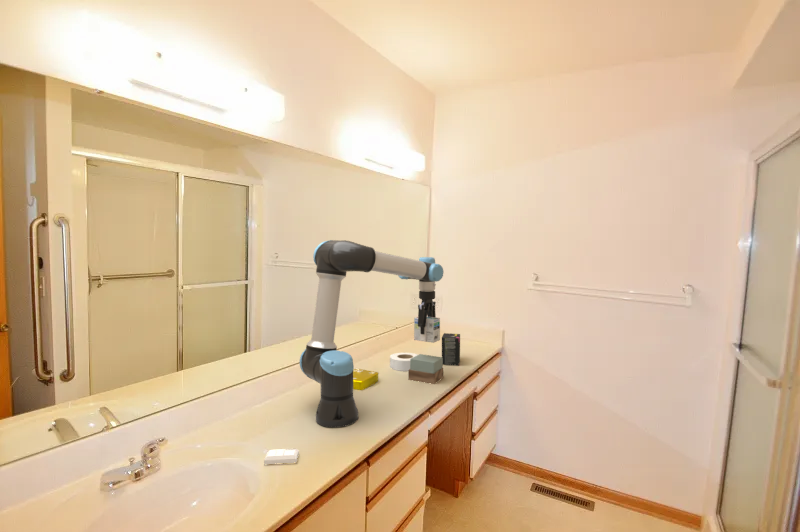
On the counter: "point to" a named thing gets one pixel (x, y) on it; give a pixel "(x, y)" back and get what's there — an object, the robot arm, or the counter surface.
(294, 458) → the soap bar
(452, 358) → the tampon box
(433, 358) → the grey-green top block
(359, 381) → the element tile
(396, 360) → the roll of tape
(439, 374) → the walnut base block
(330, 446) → the counter surface
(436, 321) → the light bulb box
